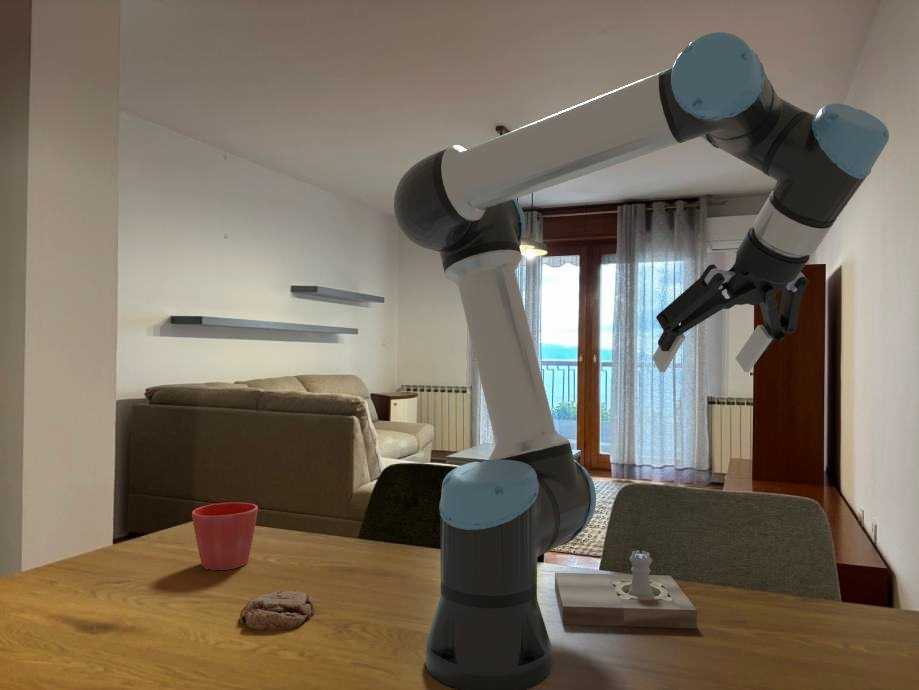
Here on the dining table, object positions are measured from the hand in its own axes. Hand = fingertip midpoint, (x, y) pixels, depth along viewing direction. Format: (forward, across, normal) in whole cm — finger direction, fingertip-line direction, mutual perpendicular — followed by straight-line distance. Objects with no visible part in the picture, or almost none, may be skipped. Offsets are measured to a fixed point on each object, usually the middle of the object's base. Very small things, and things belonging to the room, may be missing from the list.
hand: (700, 365), depth 93 cm
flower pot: (+57, +65, -6) cm, 87 cm away
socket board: (+31, +8, +20) cm, 37 cm away
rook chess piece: (+30, +5, +20) cm, 37 cm away
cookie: (+38, +56, +13) cm, 69 cm away
